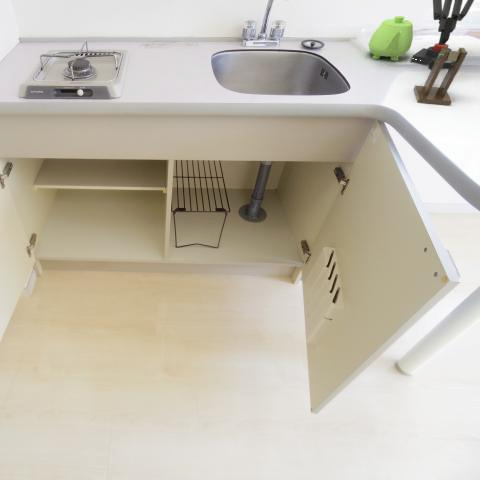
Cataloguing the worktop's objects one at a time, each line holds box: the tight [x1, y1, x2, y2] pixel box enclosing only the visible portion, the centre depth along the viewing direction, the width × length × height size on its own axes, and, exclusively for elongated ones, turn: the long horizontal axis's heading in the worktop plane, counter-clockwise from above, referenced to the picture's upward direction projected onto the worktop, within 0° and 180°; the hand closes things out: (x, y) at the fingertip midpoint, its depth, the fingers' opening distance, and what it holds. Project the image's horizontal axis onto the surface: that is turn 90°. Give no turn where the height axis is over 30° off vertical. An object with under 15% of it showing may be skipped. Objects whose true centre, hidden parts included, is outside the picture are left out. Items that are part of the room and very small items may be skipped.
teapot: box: [368, 15, 414, 62], centre depth 123 cm, size 20×13×13 cm
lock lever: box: [427, 50, 460, 71], centre depth 99 cm, size 14×4×4 cm, turn 158°
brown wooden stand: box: [412, 47, 468, 106], centre depth 97 cm, size 10×8×13 cm
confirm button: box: [433, 42, 450, 51], centre depth 119 cm, size 4×4×2 cm
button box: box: [409, 45, 453, 70], centre depth 120 cm, size 12×10×4 cm
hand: (443, 42), depth 102 cm, fingers closed
